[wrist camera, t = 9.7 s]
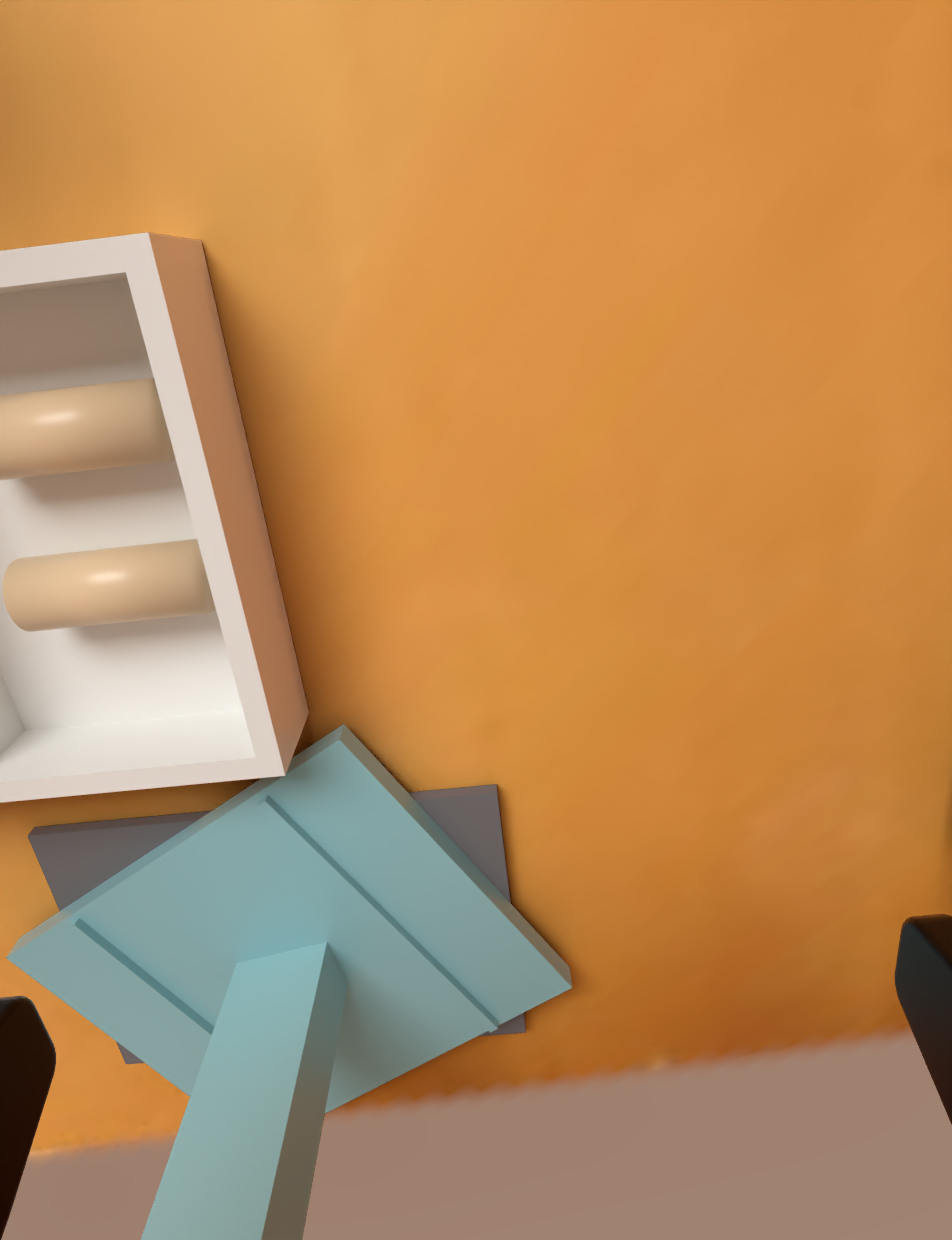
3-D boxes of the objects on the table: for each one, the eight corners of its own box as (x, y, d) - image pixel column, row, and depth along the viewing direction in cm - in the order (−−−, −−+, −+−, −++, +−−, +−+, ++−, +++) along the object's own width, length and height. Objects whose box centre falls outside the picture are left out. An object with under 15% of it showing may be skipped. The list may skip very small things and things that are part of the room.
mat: (496, 784, 23) (497, 792, 22) (525, 1022, 27) (525, 1032, 26) (34, 827, 23) (27, 835, 23) (130, 1053, 27) (125, 1064, 27)
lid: (343, 723, 21) (232, 1107, 11) (569, 967, 25) (632, 1414, 15) (19, 937, 24) (-287, 1381, 15) (263, 1125, 28) (150, 1581, 18)
